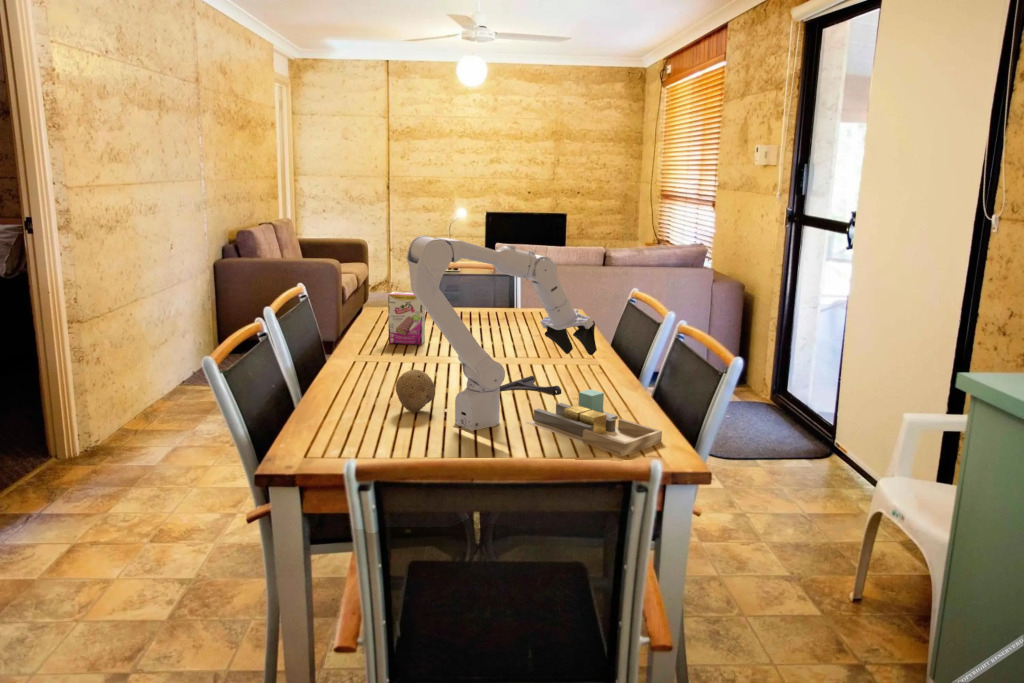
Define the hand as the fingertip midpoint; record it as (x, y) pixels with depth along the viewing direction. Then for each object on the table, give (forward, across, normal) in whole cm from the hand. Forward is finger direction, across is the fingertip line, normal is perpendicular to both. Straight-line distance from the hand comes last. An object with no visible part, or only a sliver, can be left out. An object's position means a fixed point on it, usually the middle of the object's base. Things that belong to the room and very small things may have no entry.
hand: (581, 352), depth 177 cm
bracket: (+14, +24, +1) cm, 27 cm away
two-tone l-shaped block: (+13, -3, +8) cm, 16 cm away
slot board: (+10, -11, +16) cm, 22 cm away
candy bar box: (+6, +89, -8) cm, 89 cm away
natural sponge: (-5, +26, +31) cm, 41 cm away
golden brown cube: (+8, -6, +16) cm, 19 cm away
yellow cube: (+9, -11, +16) cm, 21 cm away
